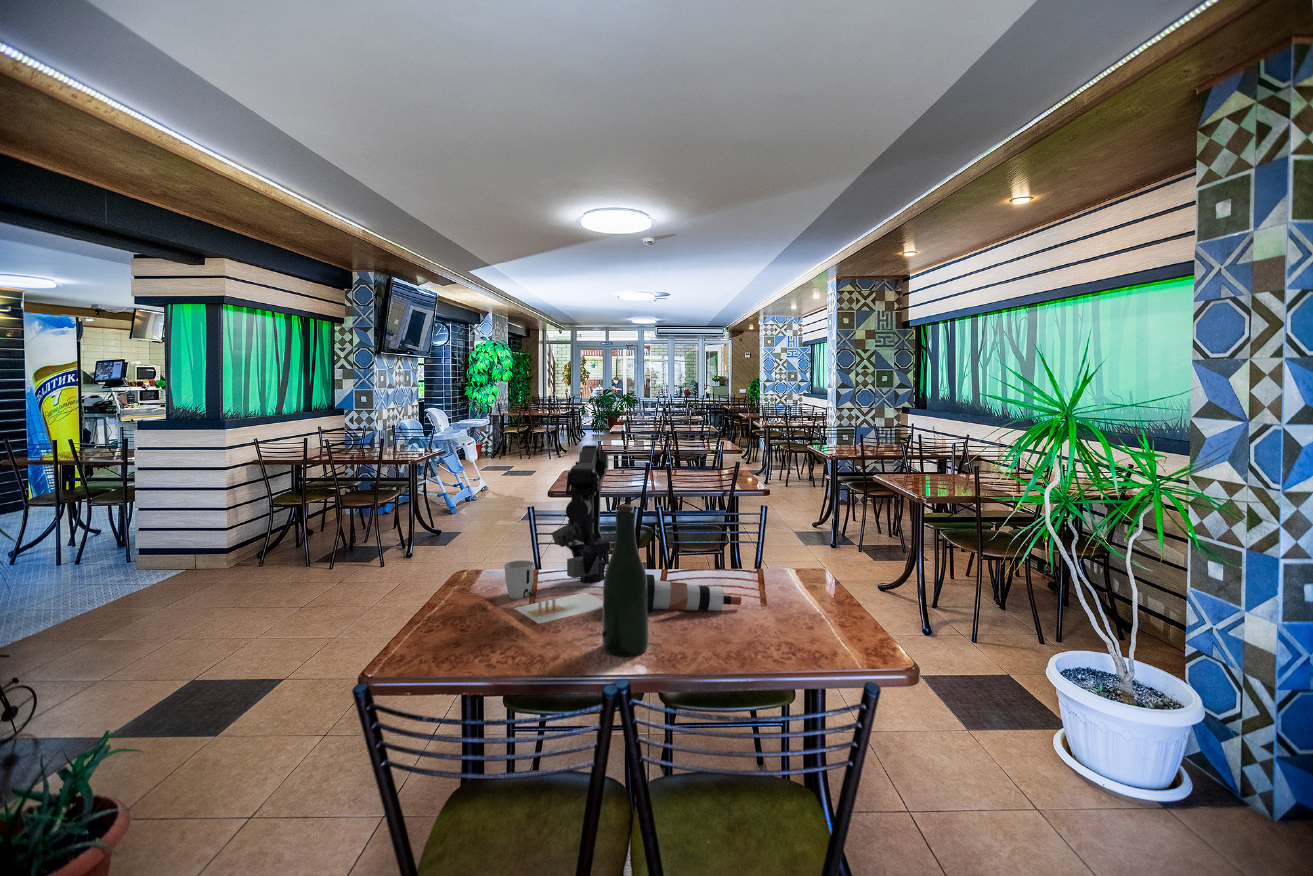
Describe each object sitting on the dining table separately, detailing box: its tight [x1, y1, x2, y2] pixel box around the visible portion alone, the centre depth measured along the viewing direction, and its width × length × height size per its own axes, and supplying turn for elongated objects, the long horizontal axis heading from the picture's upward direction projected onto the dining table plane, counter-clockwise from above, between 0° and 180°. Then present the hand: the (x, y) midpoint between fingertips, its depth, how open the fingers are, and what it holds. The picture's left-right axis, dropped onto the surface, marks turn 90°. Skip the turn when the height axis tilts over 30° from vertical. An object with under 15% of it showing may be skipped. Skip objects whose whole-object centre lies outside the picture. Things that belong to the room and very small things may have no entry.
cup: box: [503, 559, 535, 600], centre depth 182 cm, size 8×8×10 cm
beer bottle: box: [601, 503, 649, 657], centre depth 147 cm, size 10×10×33 cm
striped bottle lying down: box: [646, 573, 742, 613], centre depth 173 cm, size 10×34×10 cm, turn 93°
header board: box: [513, 592, 603, 625], centre depth 173 cm, size 22×14×4 cm, turn 127°
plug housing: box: [566, 556, 599, 579], centre depth 176 cm, size 8×3×4 cm, turn 127°
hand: (583, 572), depth 176 cm, fingers closed on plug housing, 3 cm apart
